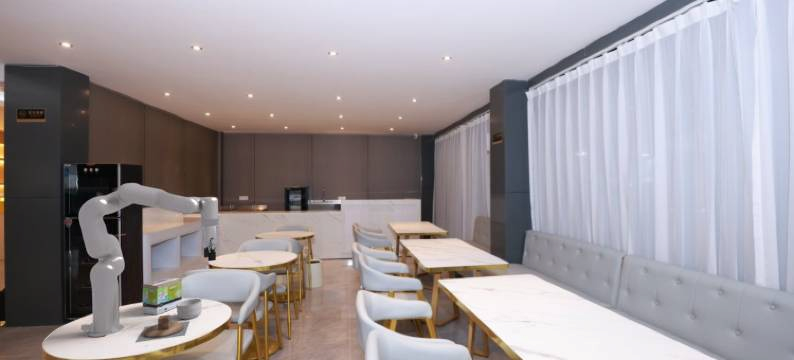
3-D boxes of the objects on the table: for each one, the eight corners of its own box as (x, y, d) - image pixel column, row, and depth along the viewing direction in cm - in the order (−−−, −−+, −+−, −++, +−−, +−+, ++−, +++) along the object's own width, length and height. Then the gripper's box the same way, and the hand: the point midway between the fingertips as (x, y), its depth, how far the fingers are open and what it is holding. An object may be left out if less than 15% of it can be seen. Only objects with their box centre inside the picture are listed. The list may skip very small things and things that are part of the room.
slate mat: (135, 343, 162) (135, 342, 162) (145, 328, 178) (145, 326, 178) (184, 336, 168) (184, 335, 168) (189, 322, 185) (189, 321, 185)
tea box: (157, 315, 195) (157, 285, 195) (142, 313, 198) (141, 284, 198) (182, 305, 209) (182, 278, 209) (167, 304, 212) (167, 276, 212)
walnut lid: (140, 340, 164) (140, 325, 164) (148, 327, 178) (147, 313, 178) (181, 334, 169) (181, 320, 169) (185, 322, 183) (185, 309, 183)
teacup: (191, 322, 185) (191, 305, 185) (171, 321, 187) (170, 304, 187) (210, 312, 198) (210, 296, 198) (192, 311, 200) (191, 295, 200)
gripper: (197, 221, 193) (197, 256, 193) (204, 225, 179) (205, 263, 179) (213, 220, 197) (214, 255, 198) (222, 224, 183) (222, 260, 184)
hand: (209, 258), depth 188 cm, fingers open, 9 cm apart
